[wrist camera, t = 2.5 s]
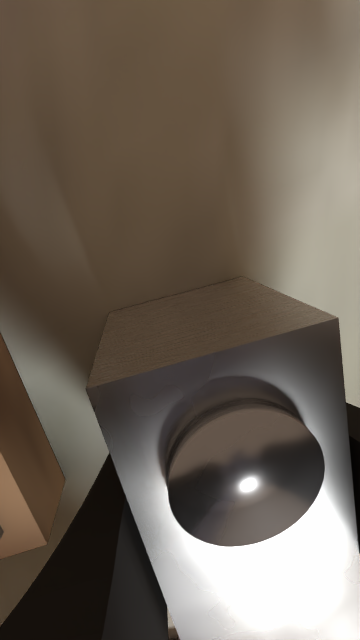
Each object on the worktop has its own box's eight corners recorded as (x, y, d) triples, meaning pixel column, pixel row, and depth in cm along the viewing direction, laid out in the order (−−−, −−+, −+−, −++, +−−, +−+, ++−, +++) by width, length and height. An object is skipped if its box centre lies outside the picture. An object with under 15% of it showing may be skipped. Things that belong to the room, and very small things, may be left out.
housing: (280, 486, 12) (378, 659, 7) (175, 519, 11) (204, 722, 7) (243, 276, 9) (355, 324, 4) (109, 312, 9) (81, 402, 4)
